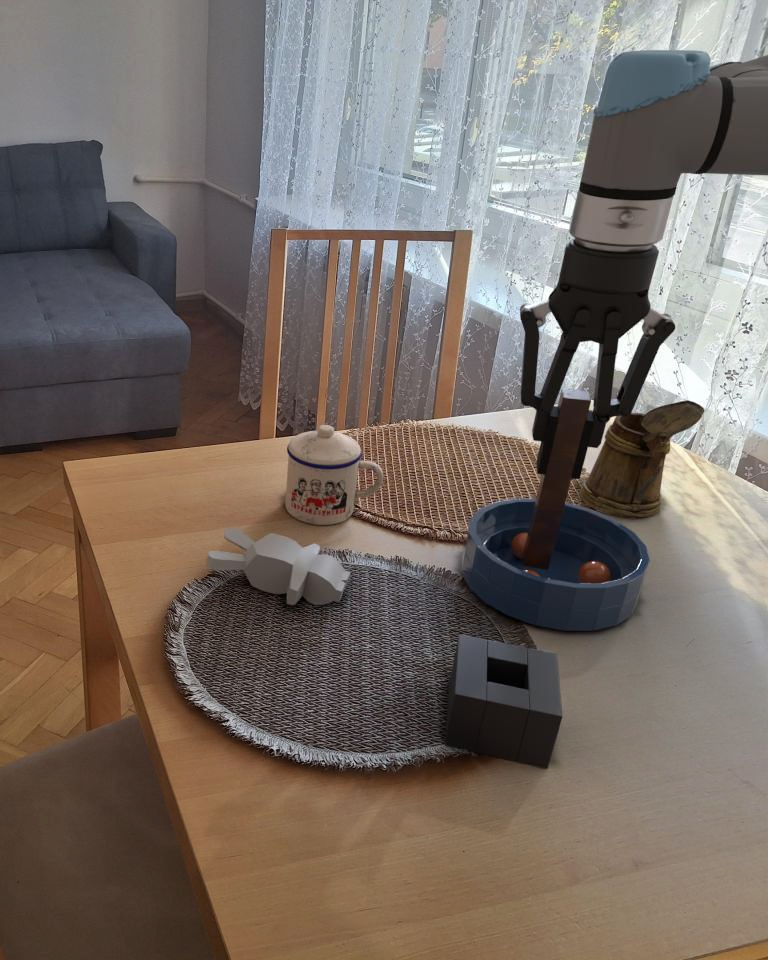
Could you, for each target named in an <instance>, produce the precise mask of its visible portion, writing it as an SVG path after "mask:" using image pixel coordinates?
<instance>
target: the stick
mask: <svg viewBox="0 0 768 960" xmlns="http://www.w3.org/2000/svg"><path fill="white" fill-rule="evenodd" d="M591 403H592V398H591V394H590V391H588V390H581V389H580V390H579V389H569V388H561V389H560V392H559V398H558V402H557V409H558V416H559V419H558V423H557V427H556V432H555V436H554V440H553V444H552V448H551V453H550V457H549V461H548V465H547V470H546V474H545V475H543V474H540V480H539V484H538V488H537V492H536V496H535V498H536V500H535V505H534V509H533V513H532V518H531V522H530V526H529V530H528V535H527V539H526V543H525V548H524V552H523V565H524V566H527V567H533V568H539V569H545V570H548V569H549V565H550V561H551V557H552V553H553V549H554V545H555V542H556V538H557V534H558V530H559V526H560V522H561V518H562V514H563V510H564V506H565V502H567V498H568V494H569V490H570V486H571V482H572V478H571V477H572V473H573V469H574V465H575V461H576V458H577V454H578V450H579V446H580V442H581V438H582V434H583V430H584V426H585V422H586V419H587V415H588V411H589V410H590V407H591Z"/></svg>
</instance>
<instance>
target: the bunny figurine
mask: <svg viewBox="0 0 768 960" xmlns="http://www.w3.org/2000/svg"><path fill="white" fill-rule="evenodd" d="M223 537H224V539H225V540H226V541H227V542H229V543H231V544H232V545H235V546H237V547H238V548H240V549H241V550H244V552H242V553H237V552H230V551H223V550H211V551H209V552H208V553H207V557H206V561H205V566H206V568H208V569H209V570H212V571H243V572H244V574H245V576H246V579H247V580H248V581H249V584H250V586H252V587H254V588H256V589H258V590H260V591H263V592H265V593H269V594H274V595H282V594H286V604H287V605H290V606H295V605H296V604H297V603H298V601H300V599H301V598H302V597H303V598H304V599H305V600H306V601H307V603H309V604H312V605H315V606H324V605H326V604H327V605H328V604H330V603H332V602H335V603H340V602H341V599H342V597H343V595H344V592H345V590H346V587H347V585H348V584H349V580H350V575H351V571H348V570H345V568H344V567H343V565H342V564H341V562H340V561H339V560H338V559H336V558H335V557H334V556H333V555H330V554H326V553H323V554H320V552H321V548H322V546H320V545H319V544H317V543H315V542H313V543H311V544H309V545H306V546H302V545H300V544H299V543H298V542H297V541H296V540H294V539H293V538H290V537H289V536H285V535H282V534H278V533H272V532H270V533H268V534H266V535H265V536H263V537H262V538H260V539H258V540H257V541H254V540H253V539H252V538H251V537H249V536H248V535H247V534H246V533H244V532H242V531H241V530H240V529H238V528H237V527H233V526H232V527H227V528H226V529H224V532H223Z"/></svg>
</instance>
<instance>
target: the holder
mask: <svg viewBox="0 0 768 960" xmlns="http://www.w3.org/2000/svg"><path fill="white" fill-rule="evenodd" d="M450 672H451V673H450V677H449V682H448V694H447V708H446V718H445V720H446V721H445V731H444V733H445V735H444V746H446V747H451V748H456V749H460V750H464V751H468V752H473V753H477V754H481V755H485V756H489V757H494V758H498V759H502V760H507V761H512V762H517V763H520V764H525V765H528V766H533V767H536V768H537V767H538V768H541V769H549V766H550V763H551V759H552V755H553V752H554V748H555V745H556V741H557V738H558V734H559V730H560V727H561V723H562V720H563V717H564V716H563V707H562V706H563V705H562V696H561V694H562V693H561V684H560V682H561V681H560V672H559V658H558V653H557V652H552V651H547V650H541V649H536V648H530V647H526V646H521V645H516V644H510V643H505V642H499V641H495V640H489V639H485V638H480V637H474V636H469V635H464V634H458V635H457V642H456V647H455V651H454V657H453V662H452V666H451V671H450Z"/></svg>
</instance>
